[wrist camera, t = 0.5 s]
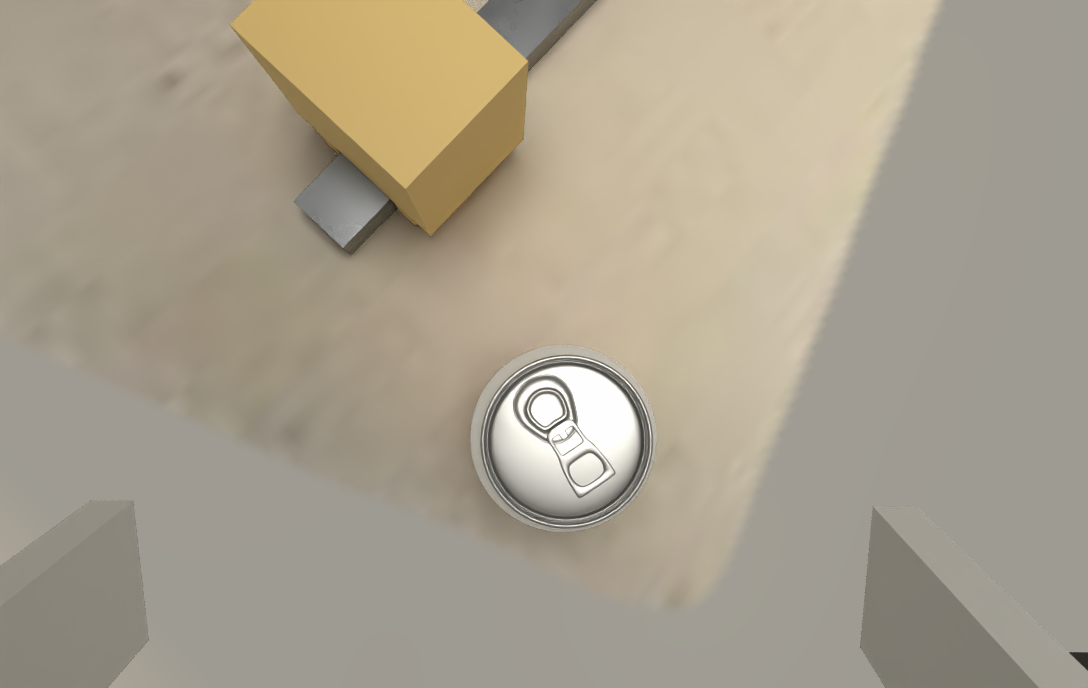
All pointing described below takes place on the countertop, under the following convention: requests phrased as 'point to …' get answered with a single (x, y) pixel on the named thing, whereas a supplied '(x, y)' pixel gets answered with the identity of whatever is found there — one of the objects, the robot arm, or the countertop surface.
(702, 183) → the countertop surface
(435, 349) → the countertop surface
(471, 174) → the carriage
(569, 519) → the can
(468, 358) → the countertop surface
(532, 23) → the rail
